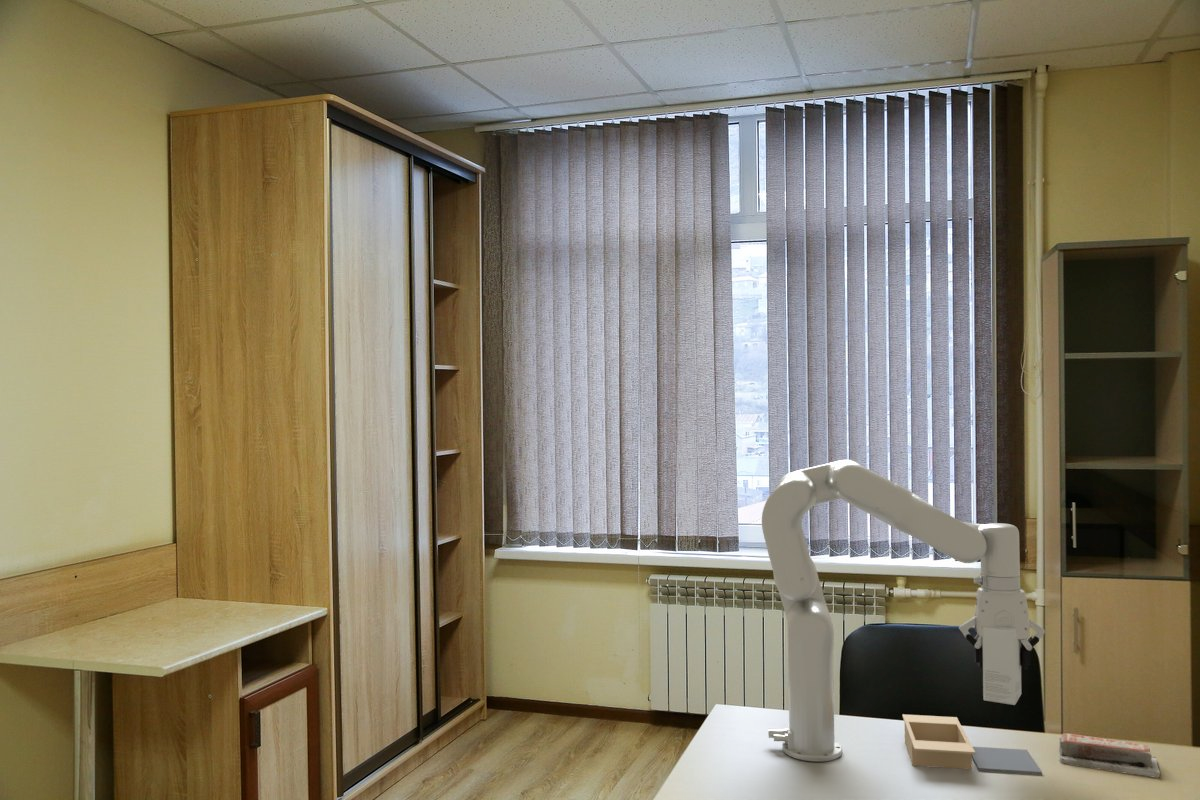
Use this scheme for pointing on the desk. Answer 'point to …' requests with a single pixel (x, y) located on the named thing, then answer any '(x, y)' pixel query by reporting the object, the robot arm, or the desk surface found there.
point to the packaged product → (1107, 755)
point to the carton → (937, 742)
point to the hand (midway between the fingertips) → (1002, 666)
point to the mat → (1005, 760)
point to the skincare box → (1001, 665)
